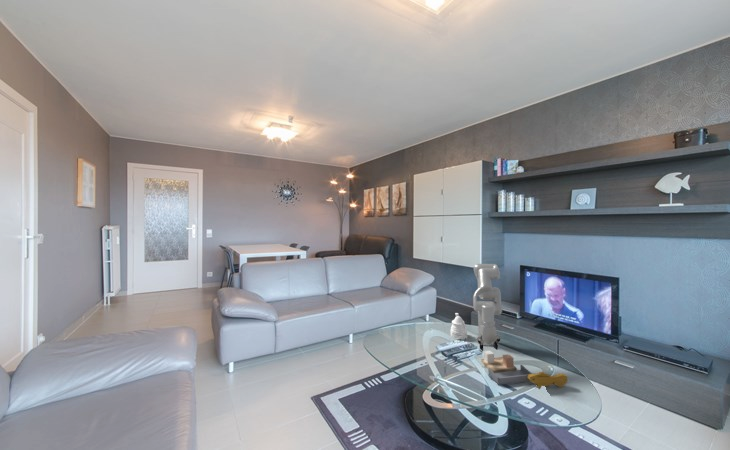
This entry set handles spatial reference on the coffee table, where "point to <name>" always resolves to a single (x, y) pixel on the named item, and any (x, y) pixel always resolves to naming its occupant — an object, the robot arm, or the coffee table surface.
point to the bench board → (498, 365)
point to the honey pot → (458, 328)
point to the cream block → (489, 356)
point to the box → (510, 376)
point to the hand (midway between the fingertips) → (488, 349)
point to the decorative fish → (547, 379)
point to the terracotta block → (508, 361)
